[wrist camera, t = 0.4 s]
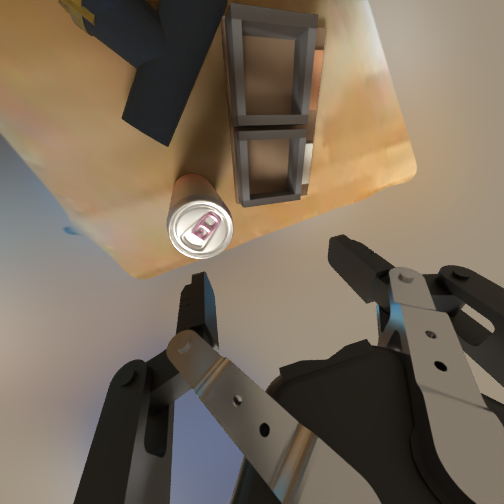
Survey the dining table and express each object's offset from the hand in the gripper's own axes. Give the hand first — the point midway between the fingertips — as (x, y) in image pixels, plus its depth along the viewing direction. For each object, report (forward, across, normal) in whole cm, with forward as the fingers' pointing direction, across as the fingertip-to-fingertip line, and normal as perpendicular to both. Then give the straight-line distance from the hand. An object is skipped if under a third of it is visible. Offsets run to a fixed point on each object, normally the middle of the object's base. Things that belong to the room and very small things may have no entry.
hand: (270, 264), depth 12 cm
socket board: (+23, -8, -6) cm, 25 cm away
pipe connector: (+22, +6, -16) cm, 28 cm away
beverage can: (+22, +6, 0) cm, 22 cm away
